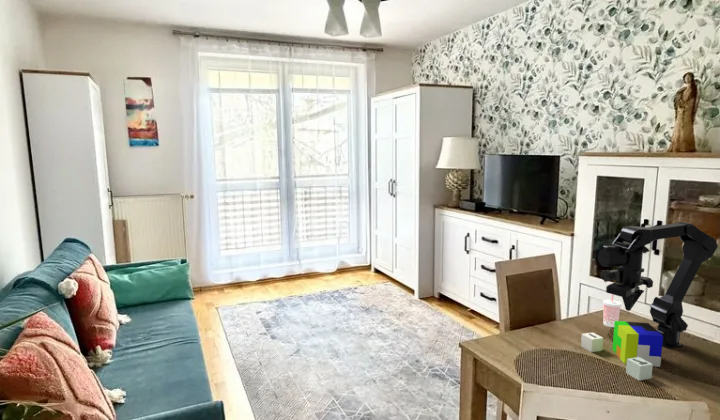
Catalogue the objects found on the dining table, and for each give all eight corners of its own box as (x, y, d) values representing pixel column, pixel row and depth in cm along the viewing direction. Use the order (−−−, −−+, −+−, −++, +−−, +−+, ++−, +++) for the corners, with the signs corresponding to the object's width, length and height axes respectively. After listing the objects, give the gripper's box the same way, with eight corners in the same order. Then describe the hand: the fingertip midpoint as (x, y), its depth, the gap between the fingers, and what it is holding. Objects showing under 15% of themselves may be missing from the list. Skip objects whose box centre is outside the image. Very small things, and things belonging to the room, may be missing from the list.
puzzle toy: (660, 367, 131) (663, 336, 130) (624, 363, 133) (626, 333, 132) (645, 351, 141) (648, 323, 139) (612, 349, 143) (614, 320, 141)
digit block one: (592, 344, 146) (592, 331, 146) (602, 350, 142) (603, 337, 141) (580, 346, 145) (581, 333, 144) (591, 352, 141) (592, 339, 140)
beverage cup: (619, 329, 158) (622, 293, 156) (600, 325, 161) (603, 290, 159) (619, 323, 163) (622, 288, 161) (601, 320, 166) (604, 285, 164)
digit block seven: (637, 370, 129) (639, 356, 128) (651, 378, 125) (652, 363, 124) (625, 372, 128) (627, 358, 127) (638, 380, 124) (640, 365, 123)
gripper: (620, 255, 152) (617, 297, 154) (591, 264, 142) (588, 309, 144) (655, 262, 143) (651, 307, 145) (626, 272, 133) (623, 319, 135)
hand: (628, 310), depth 143 cm, fingers closed
